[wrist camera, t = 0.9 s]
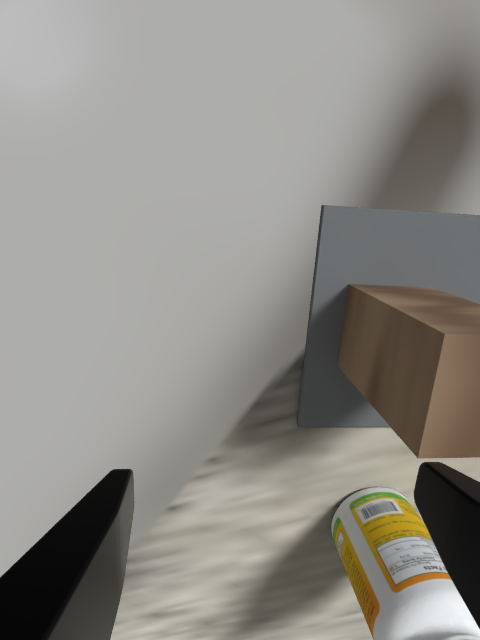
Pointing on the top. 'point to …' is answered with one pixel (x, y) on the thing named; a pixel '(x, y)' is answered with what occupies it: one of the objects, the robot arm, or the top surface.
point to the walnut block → (416, 364)
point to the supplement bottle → (398, 570)
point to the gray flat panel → (375, 269)
